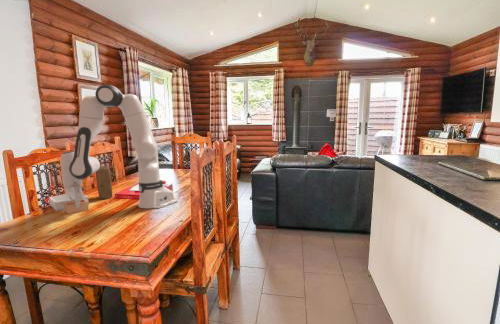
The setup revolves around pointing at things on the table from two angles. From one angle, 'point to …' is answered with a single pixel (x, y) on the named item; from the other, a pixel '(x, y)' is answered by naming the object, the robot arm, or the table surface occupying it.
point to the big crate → (62, 201)
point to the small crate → (72, 209)
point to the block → (104, 182)
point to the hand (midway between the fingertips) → (75, 205)
